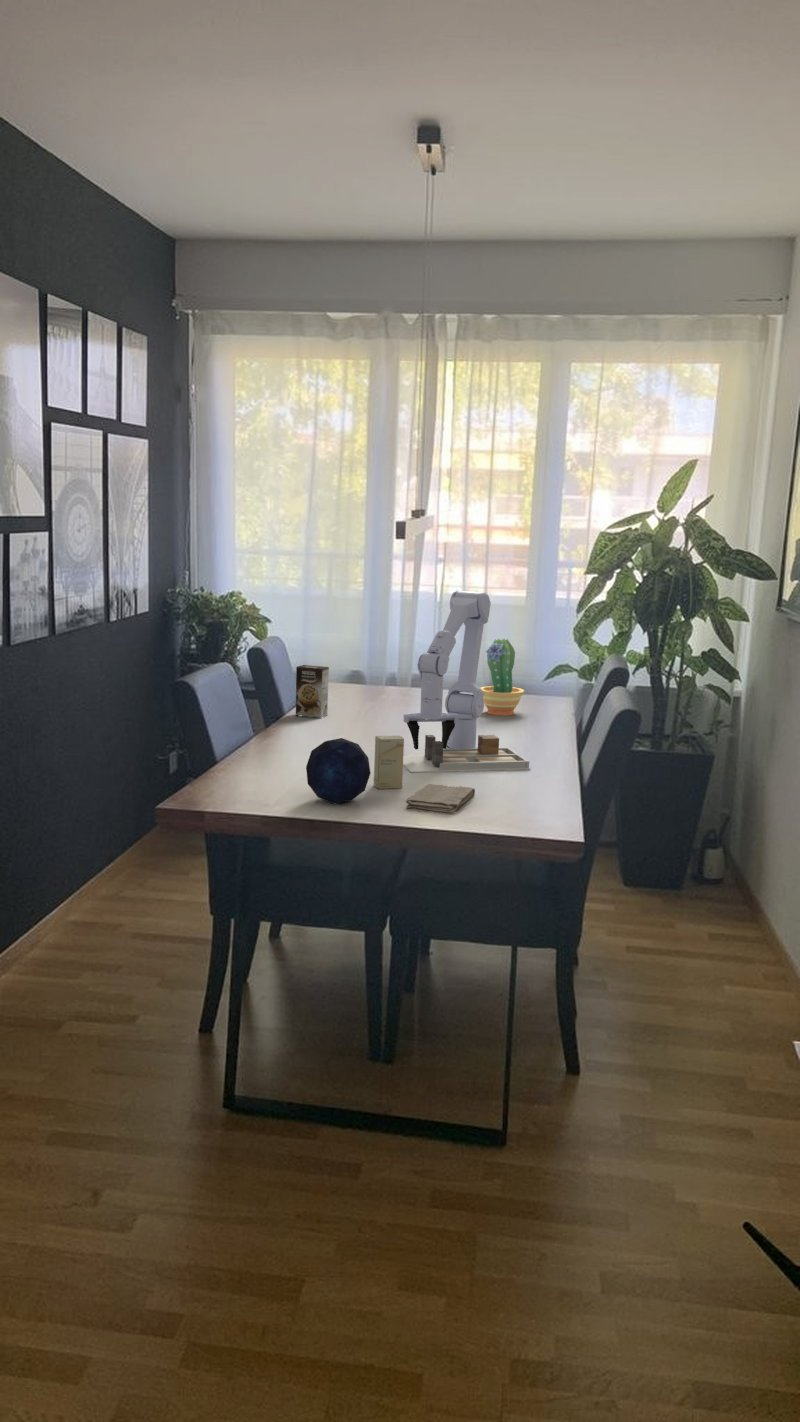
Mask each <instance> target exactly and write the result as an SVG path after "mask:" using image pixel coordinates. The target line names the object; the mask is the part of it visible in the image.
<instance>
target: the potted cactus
mask: <svg viewBox="0 0 800 1422" xmlns="http://www.w3.org/2000/svg"><path fill="white" fill-rule="evenodd" d="M485 653H486V657H487V661H486V662H487V665H488V667H489V671H490V674H491V675H490V676H491V681H492V684H493V685H489V686H481V687H480V688H481V689H482V690H483V692H484V697H483V699H484V706H485V707H486V709H487V711H486V713H488V714H489V715H493V716H512V715H514V714H515V712H514V710H515V709H516V708H517V706H518V705H519V704H520V701H521V698H522V696H524V695H525V690H524V689H522V688H520V687H514V686H513V673H512V672H513V668H514V665H515V657H516V650H515V649H514V647H513V645H512V644H511V641H509V639H505V638H503V639H500V638H497V639H494V640H493V642H492V643H491V644H490V646H488V649H486V651H485Z"/></svg>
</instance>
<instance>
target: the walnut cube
mask: <svg viewBox="0 0 800 1422" xmlns="http://www.w3.org/2000/svg"><path fill="white" fill-rule="evenodd" d="M499 745H500V737H498V736H496V735H495V734H478V735H477V746H478V752H479V753H480V754H482V755H493V754H499V748H500V746H499Z"/></svg>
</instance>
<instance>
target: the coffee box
mask: <svg viewBox="0 0 800 1422" xmlns="http://www.w3.org/2000/svg"><path fill="white" fill-rule="evenodd" d="M295 669H296V675H295V676H296V678H295V680H296V681H295V682H296V683H295V685H296V686H295V716H296V715H302V716H310V717H309V718H313V717H318V718H317V719H322V717H323V718H325V717H327V716H328V711H329V710H328V709H329V708H328V707H329V706H328V705H329V704H328V703H329V700H328V699H329V674H330V673H329V670H330V667H329V666H323V665H322V666H320V665H309V664H302V665H298V666H296V668H295ZM326 715H327V716H326ZM302 716H301V717H302ZM324 716H325V717H324Z"/></svg>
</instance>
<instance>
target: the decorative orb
mask: <svg viewBox="0 0 800 1422" xmlns="http://www.w3.org/2000/svg"><path fill="white" fill-rule="evenodd" d="M309 754H310V755H309V758H308V760H307V762H306V766H305V767H306V768H305V769H306V778H307V779H306V780H307V785H308V787H309V788H310V789H311V790H312V791H313V793H314V794H315V795H316V796H317V798H318V799H322V801H323V800H324V801H326V802H329V803H332V804H334V803H336V804H340V803H346V802H350V801H353V800H355V798H357V797H358V796H359V795H361V794H362V793H364V792H365V791H366V788H367V785H368V782H369V779H370V776H371V766H370V759H369V757H368V755H367V754H366V753H365V751H364V750H363V749H362V747H361V746H360V744H359V743H357V742H353V741H351V740H348V739H345V738H343V737H340V738H335V739H334V738H333V739H330V740H325V741H323V742H322V743H320V744H319V745H318V746H316V747H315V748H313V749H312V750H311V751H310V753H309Z"/></svg>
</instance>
